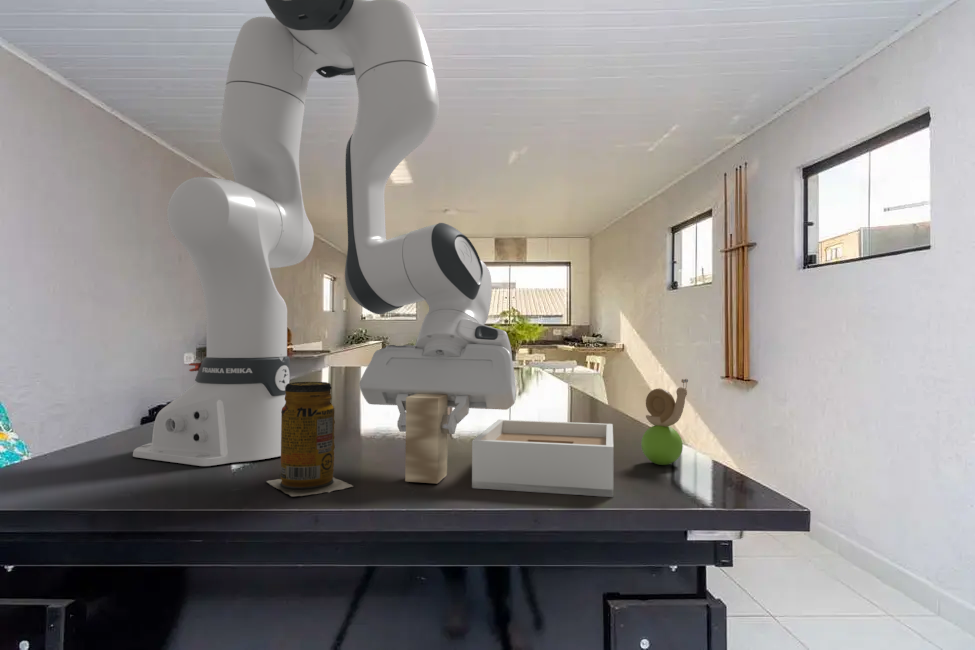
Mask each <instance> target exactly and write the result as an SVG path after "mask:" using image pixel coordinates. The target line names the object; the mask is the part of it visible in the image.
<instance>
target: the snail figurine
mask: <svg viewBox="0 0 975 650" xmlns="http://www.w3.org/2000/svg"><path fill="white" fill-rule="evenodd" d="M680 381H681V383H682V386H679V387H678V388H677V389H676V391H675V393H676V399H675V398H674V396H673V395H672V394H671V392H669V391H668V390H667V389H664V388H655V389H652V390H651V391H650V392H648V394H647V395H646V399H645V406H646V407H645V408H646V410H647V411H648V413H649V414H650V415H649V414H645V418H646V420H647V421H648V422H649V423H650V425H652V426H650V427H649V428H648V429H646V430H645V432H644V433H643V435H642V438H641V443H640V444H641V445H640V446H641V451H642V453H643V455H644V456H645V457H646V458H647V460H648V461H650V462H652V463H654V464H655V465H660V466H668V465H671V464H673V463H674V462H676V461H677V460H678V459H679V458H680V456H681V454H682V453H683V440H682V437H681V436H680V434H679V433H678V431H677V430H676V429H675V428H673V427H671V426H673V425H675V424H676V423H678V422H679V421H680V419H681V417H682V414H683V411H684V407H685V402H686V397H687V396H688V389H687V385H688V382H689V380H688V379H687V378H682V379H681V380H680Z"/></svg>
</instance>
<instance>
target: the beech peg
mask: <svg viewBox="0 0 975 650" xmlns="http://www.w3.org/2000/svg"><path fill="white" fill-rule="evenodd" d="M448 408H449V407H448V395H445V394H414V395H411V396H408V397H406V432H405V460H404V461H405V465H404V466H405V467H404V468H405V472H404V473H405V474H404V475H405V476H404V477H405V479H404V481H405V482H408V483H409V482H410V483H424V484H425V483H426V484H437V485H438V484H439V483H441V481H442V480H443V479H444V478H445V477H446V476H447V475H448V434H442V430H441V428H440V425H441V422H442V417H443V415H449V414H448V410H449V409H448Z"/></svg>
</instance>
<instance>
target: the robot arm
mask: <svg viewBox="0 0 975 650" xmlns="http://www.w3.org/2000/svg"><path fill="white" fill-rule="evenodd" d="M264 1H265V3H266V5H267V6H268V8H269V10H270V11H271V13H272V14H273V16H274V17H270V16H255V17H252V18H250V19H248V20H247V21H245V22H244V23H243V25H242V26H241V28H240V30H239V33H238V35H237V37H236V40H235V43H234V47H233V50H232V54H231V57H230V62H229V65H228V70H227V71H228V72H227V75H226V81H225V88H224V96H223V102H222V103H223V104H222V109H221V110H222V112H221V120H220V127H219V135H218V136H219V141H220V146H221V148H222V150H223V152H224V153H225V155H226V157H227V158H228V160H229V163H230V166H231V170H232V174H233V180H231V179H227V178H220V177H219V178H217V177H207V176H206V177H205V176H197V177H192V178H189V179H187V180H185V181H183V182H182V183H180V184H179V186H177V187H176V189H175V190H174V191H173V193H172V195H171V197H169V198H170V199H169V202H168V204H167V205H168V206H167V211H166V212H167V213H166V215H167V216H166V217H167V224H168V226H169V229H170V232H171V234H172V235H173V237H175V239H176V240H177V241H178V242H179V243H180V244H181V246H182V247H183V248H184V250H185V251H186V252H187V254H188V256H189V257H190V260H191V262H192V263H193V266H194V268H195V272H196V274H197V276H198V277H197V278H198V280H199V283H200V286H201V289H202V295H203V299H204V306H205V316H206V317H205V320H206V321H205V322H206V323H205V327H206V328H205V329H206V330H205V331H206V356H205V357H203V359H202V361H200V362H193V363H189V364H188V365H189V366H194V367H193V368H190V369H189V370H188V371H189V372H197V374H196V376H195V378H194V381H195V383H193V384H192V385H191V386H190V387H189V388H187V389H186V390H185V391H183V392H182V393H181V394H180V395H178V396H177V397H176V398H175V399H173V400H172V401H170V402H169V403H168V404H166V406H164V407H163V408H161V410H159V412H158V413H157V415H156V417H155V419H154V423H153V427H152V428H153V430H152V435H151V436H152V437H151V438H152V440H151V442H148V443H146V444H143V445H140V446H138V447H136V448H135V449H133V451H132V452H133V453H132V457H134V458H140V459H147V460H154V461H162V462H170V463H176V464H177V463H178V464H184V465H191V466H199V467H211V466H217V465H225V464H230V463H239V462H240V463H241V462H252V461H259V460H265V459H271V458H278V457H281V415H282V414H281V411H282V408H283V407H284V405H285V404H286V401H285V395H286V393H285V387H286V385H287V384H288V383H291V358H290V357H289V355H288V306H287V304H286V301H285V300H284V298H283V297H282V295H281V294H280V293H279V291H278V289H277V286H276V284H275V282H274V278H273V275H272V272H271V269H279V268H285V267H292V266H295V265H297V264H300V263H302V262H303V261H305V259H306V258H307V257H308V255H309V254H310V252H311V251H312V249H313V246H314V242H315V234H314V227H313V225H312V223H311V222H310V220H309V218H308V215H307V211H306V209H305V203H304V197H303V191H302V182H301V173H300V151H301V150H300V149H301V140H302V134H303V131H302V130H303V123H304V116H305V108H306V100H307V99H306V98H307V92H308V84H309V82H310V78H311V76H312V75H313V74H314V72H315V73H317V74H318V75H320V76H321V77H323V78H327V79H330V78H335V77H338V76H355V81H356V87H357V93H358V94H357V95H358V103H357V104H358V107H357V115H356V120H355V124H354V129H353V132H352V134H351V135H350V138H349V139H348V141H347V144H346V148H345V194H346V217H347V218H346V221H347V225H346V226H347V251H346V257H345V258H346V259H345V269H344V280H345V286H346V289H347V291H348V294H349V295H350V297H351V298H352V299H353V300H354V301H355V302H356V303H357V304H358V305H359V306H360V307H362V308H364V309H365V310H367V311H369V312H370V313H373V314H374V315H383V314H386V313H387V314H388V313H389V312H392V311H394V310H397V309H398V310H399V309H400V308H402V307H404V306H407V305H411V304H415V303H418V302H424V301H425V302H426V304H427V305H428V309H429V310H428V311H427V314H425V317H424V318H423V320H422V323H421V327H420V329H419V333H418V334H417V335H418V336H417V339H416V342H415V344H404V345H396V344H387V345H386V346H385V347H382V348H381V349H380V348H379V349H377V350H376V351H375V352H374V353H373V355H372V357H371V360H370V361H369V364H367V367H366V369H365V370H364V372H363V374H362V377H361V378H360V380H359V386H358V387H359V390H360V392H361V394H362V396H363V398H364V400H365V401H366V402H367V404H369V405H373V406H374V405H377V406H381V405H382V406H396V407H397V409H398V412H399V417H398V420H397V425H396V426H397V428H398V430H399V432H401V433H404V432H405V433H406V397H408V396H411V395H414V394H445V395H448V408H454V409H453V410H452V411H451V412H450V413H449V414H448V415H443V417H442V422H441V425H440V428H441V430H442V434H447V435H455V434H456V429H457V425H458V424H460V423H461V421H462V420H464V418H465V417H467V416H468V414H469V411H470V409H481V410H482V409H483V410H499V411H500V410H501V411H502V410H503V411H504V410H505V411H507V410H509V409H511V407H513V405H515V403H516V395H517V394H516V393H517V389H516V388H517V385H516V375H515V368H514V363H513V355H512V346H511V342H510V338H509V336H508V333H507V332H506V331H505V330H503V329H502V328H495V327H492V326H490V325H489V326H488V325H486V323H487V320H488V318H489V314H490V309H491V301H492V291H493V288H492V285H493V284H492V278H491V277H492V275H491V272H490V270H489V268H488V266H487V264H486V263H485V262H484V261H483V260H481V258H480V256H479V254H478V251H477V249H476V248H475V246H474V244H473V243H472V242H471V240H470V239H469V238H468V237H467V236H466V235H465V234H464V233H462V232H461V231H460V230H458V229H457V228H455V227H453V226H452V225H450V224H447V223H446V222H438V223H436V224H432V225H428V226H426V227H421V228H417V229H415V230H411V231H409V232H407V233H404V234H400V235H398V236H397V235H396V236H395V237H394V236H393V237H392V238H391V237H390V238H389V239H387V234H386V233H387V230H386V229H387V228H386V206H385V204H386V203H385V191H386V185H387V182H388V180H389V178H390V176H391V175H392V173H393V172H394V171H395V169H396V168H397V167H398V166H399V165H400V164H401V163H402V162H403V160H404V159H405V158H407V157H408V156H409V155H410V154H411V153H412V152H414V151H415V150H416V149H417V148H419V147H420V146H421V145H422V144H423V143H424V142H425V140H426V139H427V138H428V137H429V136H430V134H431V133H432V131H433V130H434V128H435V126H436V125H437V121H438V119H439V115H440V96H439V88H438V84H437V78H436V73H435V70H434V69H435V68H434V64H433V60H432V57H431V53H430V49H429V46H428V43H427V40H426V38H425V35H424V32H423V29H422V27H421V26H422V25H420V22H419V19H418V17H417V16H416V14H415V11H413V9H412V8H411V7H410V6H409V5H407V4H406V3H405V2H403V1H401V0H264Z"/></svg>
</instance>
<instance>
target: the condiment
mask: <svg viewBox="0 0 975 650" xmlns="http://www.w3.org/2000/svg"><path fill="white" fill-rule="evenodd" d="M285 393H286V395H285V401H286V404H285V405H284V407H283V408H282V411H281V414H282V415H281V456H280V478H276V479H271V480H270V479H269V480H266V481H265V482H266V483H267V484H269V485H270V486H271V487H273V488H276V489H278V490H279V491H281V492H283V494H286V495H289V496H290V497H303V496H311V495H317V494H322V493H331V492H333V491H338V490H339V491H340V490H345V489H348V488H353V487H354V485H352V484H351V483H350V484H349V483H348V482H345V481H343V480H341V479H338V478H336V477H334V467H335V466H334V465H335V448H336V447H335V446H336V445H335V424H336V421H335V408H334V405H333V403H332V402H331V401H332V394H331V393H332V384H331V383H330V382H326V381H293V382H290V383H288V384H287V385H286V387H285Z"/></svg>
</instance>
